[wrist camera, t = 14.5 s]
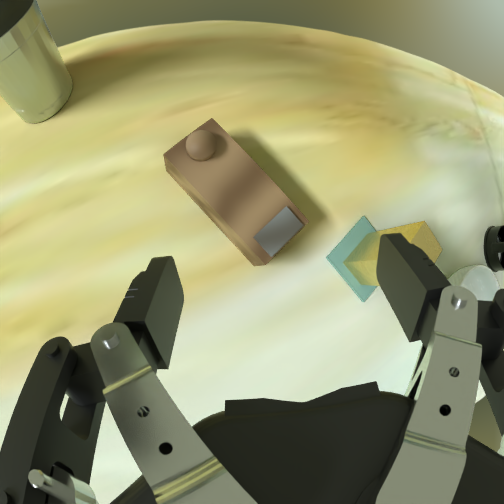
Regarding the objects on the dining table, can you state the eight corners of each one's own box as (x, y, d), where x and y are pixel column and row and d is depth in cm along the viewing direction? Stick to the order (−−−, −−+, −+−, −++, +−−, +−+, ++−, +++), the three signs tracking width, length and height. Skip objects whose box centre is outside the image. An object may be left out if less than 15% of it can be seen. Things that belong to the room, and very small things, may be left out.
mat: (325, 257, 36) (327, 257, 35) (362, 216, 37) (364, 215, 37) (362, 302, 36) (364, 302, 36) (395, 259, 38) (396, 259, 38)
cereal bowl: (417, 268, 39) (451, 266, 32) (473, 264, 43) (502, 262, 36) (412, 375, 38) (442, 387, 31) (469, 352, 42) (496, 358, 35)
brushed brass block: (342, 262, 36) (399, 258, 25) (369, 231, 37) (426, 218, 26) (360, 284, 36) (418, 287, 25) (385, 253, 37) (444, 247, 27)
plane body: (166, 170, 32) (162, 149, 26) (208, 137, 33) (213, 112, 27) (254, 266, 34) (268, 264, 28) (292, 228, 35) (313, 219, 29)
